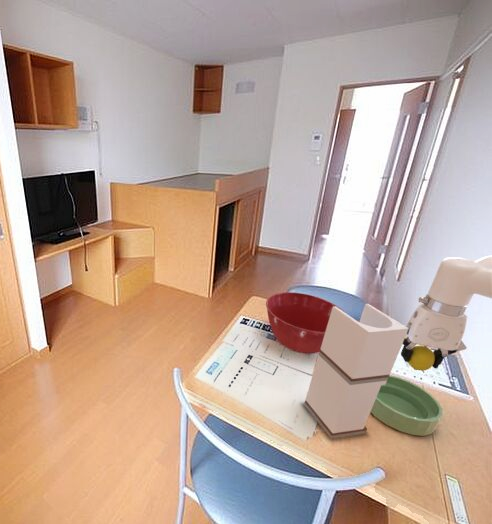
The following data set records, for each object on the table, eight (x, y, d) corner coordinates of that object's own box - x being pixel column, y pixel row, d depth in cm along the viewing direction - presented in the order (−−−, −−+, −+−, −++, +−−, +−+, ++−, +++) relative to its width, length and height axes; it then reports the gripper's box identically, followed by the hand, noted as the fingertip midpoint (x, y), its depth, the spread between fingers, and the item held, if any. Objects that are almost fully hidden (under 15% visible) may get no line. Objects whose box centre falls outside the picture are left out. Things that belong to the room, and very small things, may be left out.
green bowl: (420, 398, 96) (427, 384, 94) (446, 446, 81) (455, 430, 79) (355, 381, 103) (360, 367, 100) (368, 423, 88) (374, 408, 85)
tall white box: (364, 433, 85) (408, 328, 71) (330, 438, 83) (369, 332, 70) (334, 400, 95) (368, 303, 81) (304, 404, 93) (332, 306, 80)
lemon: (397, 362, 88) (407, 339, 85) (417, 363, 88) (427, 340, 85) (413, 376, 83) (423, 352, 80) (433, 377, 83) (445, 353, 80)
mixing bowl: (348, 375, 105) (360, 338, 99) (260, 357, 113) (267, 322, 108) (329, 330, 130) (339, 298, 124) (259, 318, 138) (265, 287, 132)
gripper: (408, 305, 77) (385, 362, 84) (498, 320, 71) (465, 380, 78) (398, 292, 84) (377, 346, 91) (480, 305, 77) (451, 362, 84)
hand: (418, 361), depth 84 cm, fingers closed on lemon, 5 cm apart
